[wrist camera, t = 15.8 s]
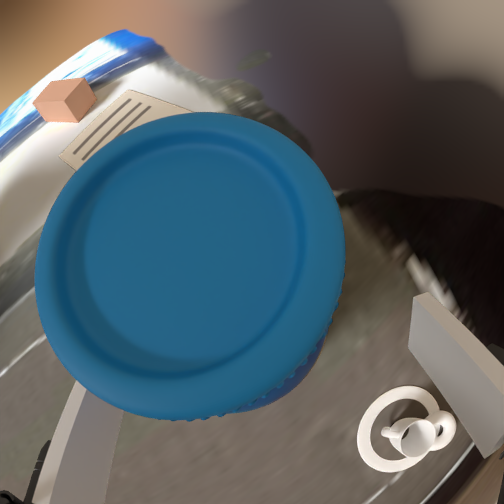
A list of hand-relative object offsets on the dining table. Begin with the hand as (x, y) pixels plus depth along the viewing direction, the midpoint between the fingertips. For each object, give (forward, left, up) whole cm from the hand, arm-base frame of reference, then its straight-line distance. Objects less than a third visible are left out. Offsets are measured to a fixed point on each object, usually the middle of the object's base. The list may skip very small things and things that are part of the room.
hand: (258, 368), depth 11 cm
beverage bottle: (+1, +2, -13) cm, 13 cm away
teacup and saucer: (-1, -15, -14) cm, 20 cm away
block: (+12, +40, -11) cm, 43 cm away
